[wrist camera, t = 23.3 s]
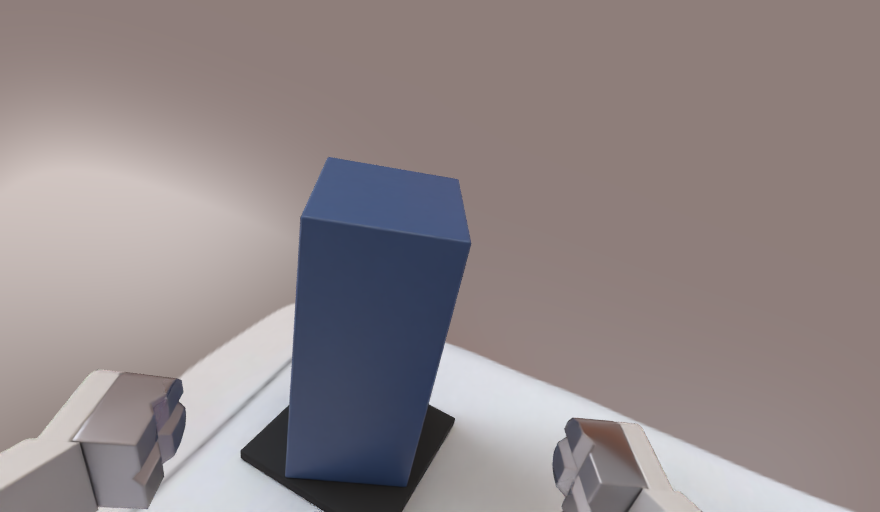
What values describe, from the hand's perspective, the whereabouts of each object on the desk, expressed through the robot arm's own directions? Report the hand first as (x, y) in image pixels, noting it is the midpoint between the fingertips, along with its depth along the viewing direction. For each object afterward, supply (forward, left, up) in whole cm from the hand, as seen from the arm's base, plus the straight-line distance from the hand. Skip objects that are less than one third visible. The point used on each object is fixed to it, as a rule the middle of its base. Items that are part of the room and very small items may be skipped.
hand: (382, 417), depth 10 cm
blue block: (+4, -7, -10) cm, 13 cm away
